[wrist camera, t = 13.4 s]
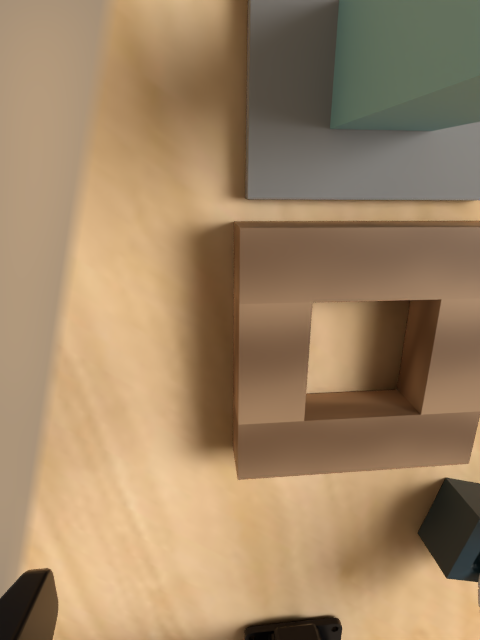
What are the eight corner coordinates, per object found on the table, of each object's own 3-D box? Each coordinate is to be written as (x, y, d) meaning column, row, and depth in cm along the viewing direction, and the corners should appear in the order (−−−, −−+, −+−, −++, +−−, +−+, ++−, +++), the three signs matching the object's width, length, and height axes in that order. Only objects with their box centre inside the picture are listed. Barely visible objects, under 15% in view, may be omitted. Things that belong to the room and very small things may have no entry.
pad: (478, 199, 19) (489, 200, 18) (245, 198, 18) (247, 199, 17) (529, -68, 16) (545, -81, 15) (249, -91, 15) (252, -106, 14)
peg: (431, 130, 17) (720, 74, 8) (330, 128, 17) (506, 65, 7) (449, 5, 16) (831, -250, 6) (339, -1, 15) (574, -286, 6)
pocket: (441, 435, 23) (468, 463, 21) (232, 447, 22) (237, 479, 20) (483, 221, 20) (523, 226, 17) (233, 221, 18) (240, 227, 16)
